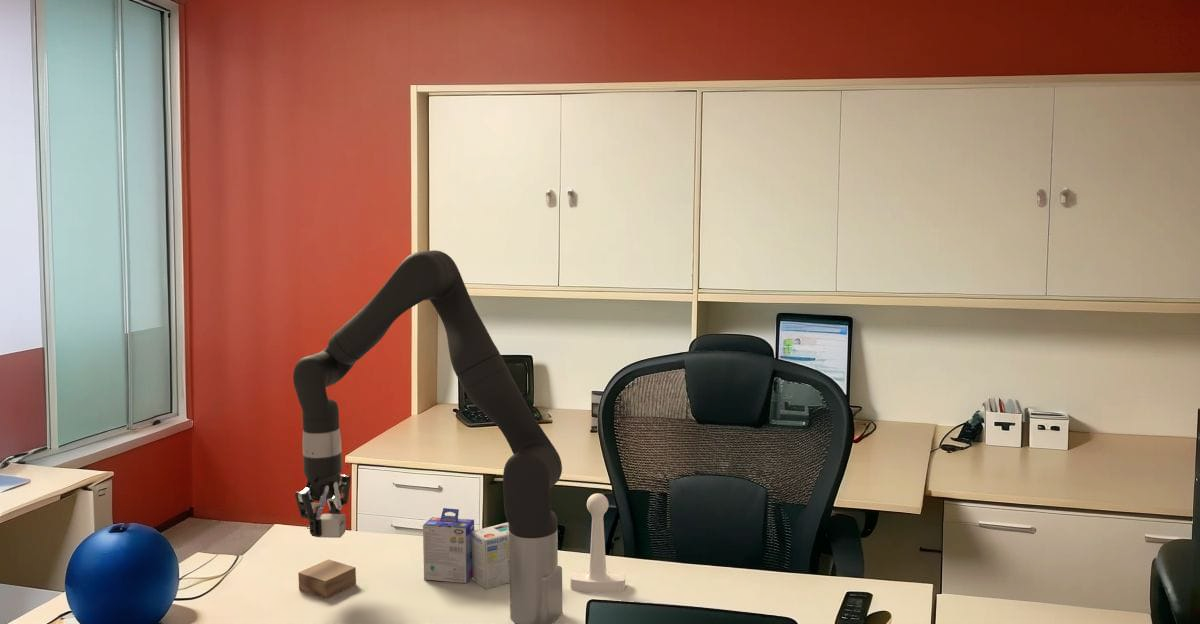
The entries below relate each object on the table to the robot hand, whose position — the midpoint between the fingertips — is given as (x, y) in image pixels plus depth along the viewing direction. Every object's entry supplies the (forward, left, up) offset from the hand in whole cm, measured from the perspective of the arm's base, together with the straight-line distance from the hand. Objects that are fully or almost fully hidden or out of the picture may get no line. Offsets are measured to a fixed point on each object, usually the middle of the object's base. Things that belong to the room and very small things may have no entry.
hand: (325, 531), depth 188 cm
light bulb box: (-30, -19, -12) cm, 38 cm away
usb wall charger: (0, 0, -1) cm, 1 cm away
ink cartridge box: (-20, -15, -12) cm, 28 cm away
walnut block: (0, 0, -12) cm, 12 cm away
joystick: (-50, -25, -12) cm, 57 cm away
